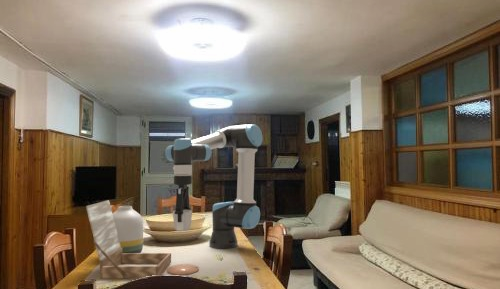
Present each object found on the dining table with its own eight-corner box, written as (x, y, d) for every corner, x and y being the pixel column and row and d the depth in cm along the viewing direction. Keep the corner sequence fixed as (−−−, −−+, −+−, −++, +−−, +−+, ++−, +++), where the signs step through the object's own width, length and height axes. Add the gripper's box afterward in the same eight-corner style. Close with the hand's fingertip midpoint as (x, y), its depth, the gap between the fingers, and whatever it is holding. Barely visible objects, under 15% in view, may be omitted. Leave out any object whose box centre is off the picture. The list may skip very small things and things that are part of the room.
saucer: (200, 266, 165) (200, 264, 165) (195, 274, 152) (195, 272, 152) (171, 266, 165) (171, 264, 165) (163, 274, 152) (163, 272, 152)
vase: (121, 263, 170) (122, 209, 171) (98, 258, 179) (98, 207, 180) (150, 255, 185) (150, 205, 186) (127, 251, 194) (127, 203, 195)
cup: (174, 227, 165) (174, 208, 165) (193, 227, 165) (193, 208, 166) (171, 232, 154) (171, 212, 154) (191, 231, 155) (191, 211, 155)
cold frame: (171, 263, 170) (171, 199, 171) (157, 279, 147) (157, 205, 148) (107, 263, 170) (107, 200, 172) (83, 279, 147) (84, 206, 149)
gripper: (179, 174, 172) (179, 223, 171) (167, 176, 149) (167, 232, 148) (196, 174, 172) (196, 223, 171) (186, 176, 149) (186, 232, 148)
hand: (182, 227), depth 160 cm, fingers closed on cup, 11 cm apart
